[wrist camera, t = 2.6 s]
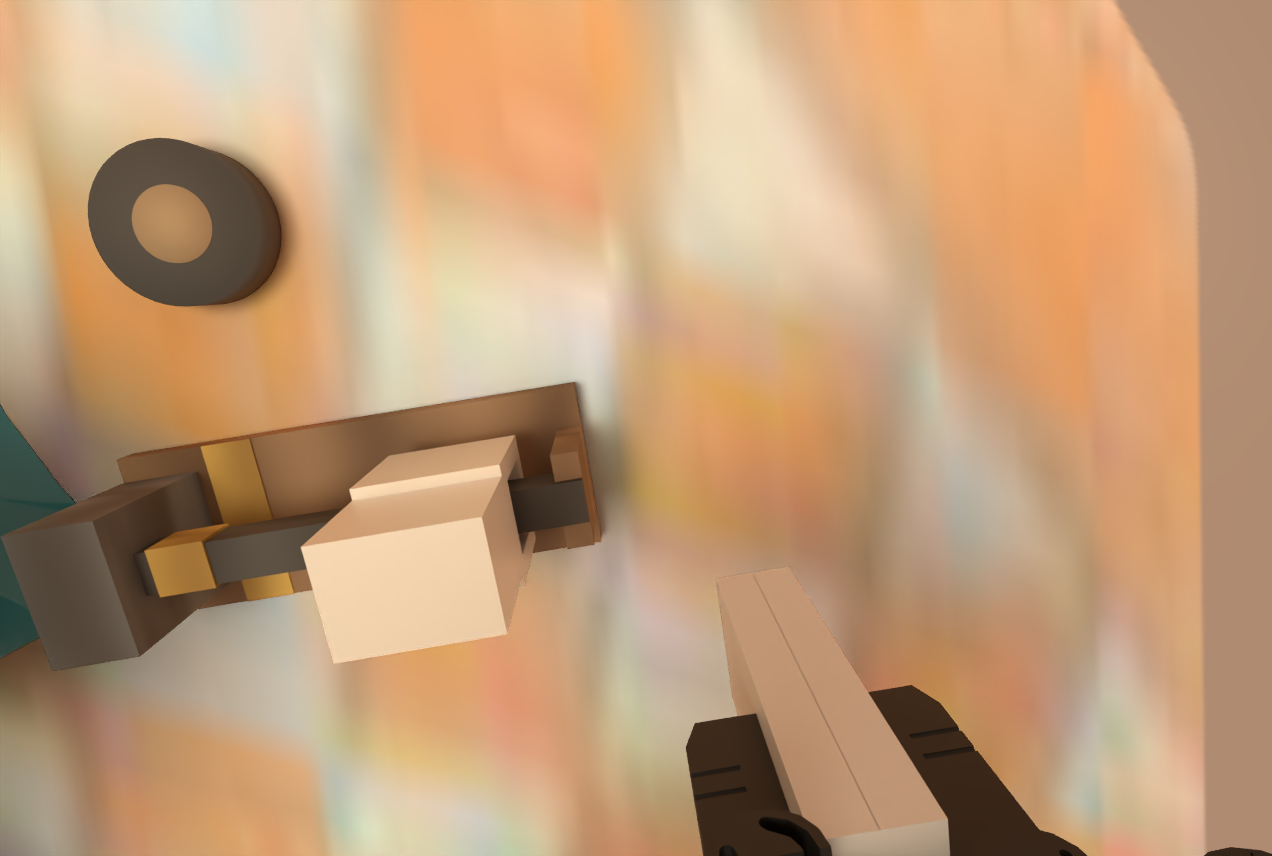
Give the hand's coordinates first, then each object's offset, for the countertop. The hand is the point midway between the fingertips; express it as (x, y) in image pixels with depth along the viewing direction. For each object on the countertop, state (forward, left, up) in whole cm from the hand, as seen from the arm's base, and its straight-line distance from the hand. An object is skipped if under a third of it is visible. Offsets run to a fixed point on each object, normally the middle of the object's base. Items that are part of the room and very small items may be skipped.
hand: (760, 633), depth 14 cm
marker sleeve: (-9, 0, -14) cm, 16 cm away
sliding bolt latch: (-13, 0, -17) cm, 21 cm away
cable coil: (-17, +12, -17) cm, 27 cm away
